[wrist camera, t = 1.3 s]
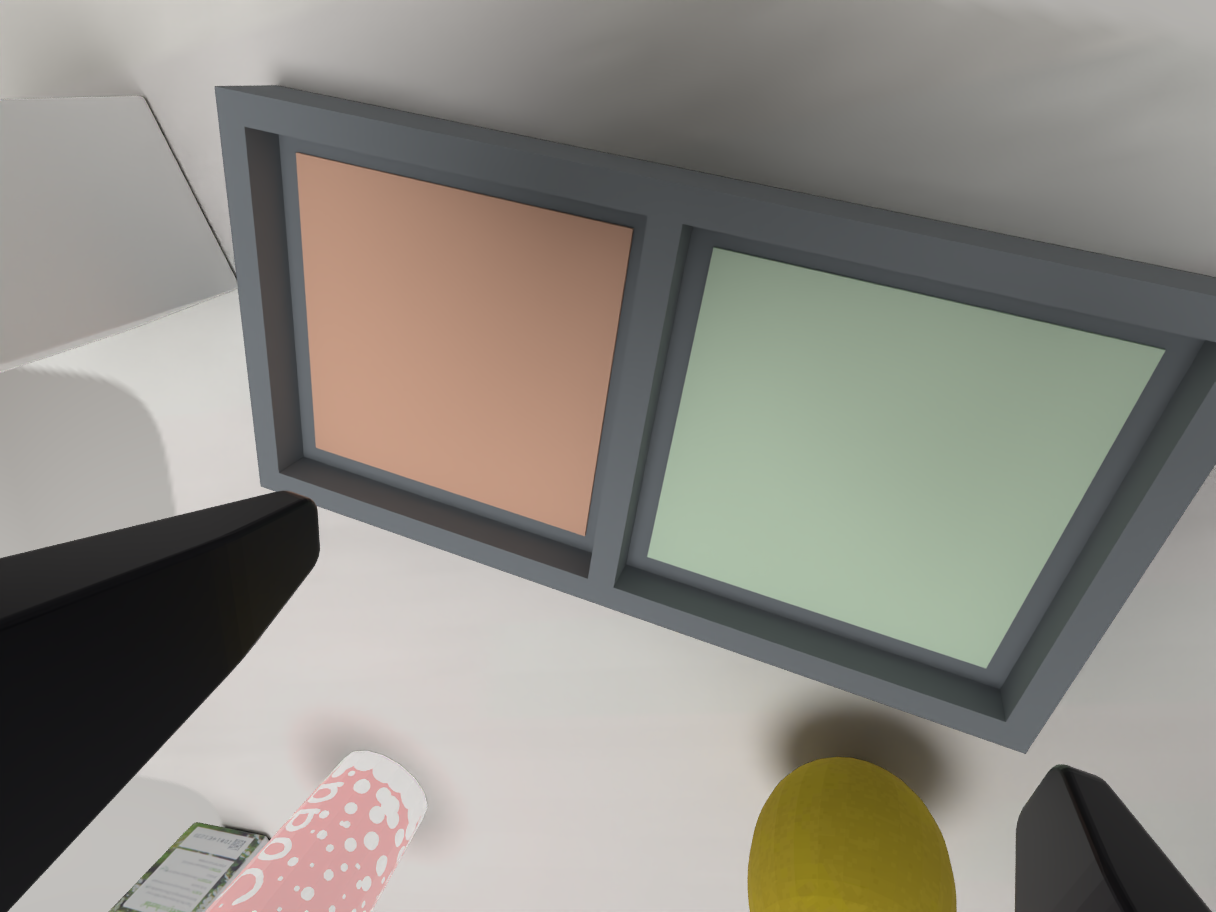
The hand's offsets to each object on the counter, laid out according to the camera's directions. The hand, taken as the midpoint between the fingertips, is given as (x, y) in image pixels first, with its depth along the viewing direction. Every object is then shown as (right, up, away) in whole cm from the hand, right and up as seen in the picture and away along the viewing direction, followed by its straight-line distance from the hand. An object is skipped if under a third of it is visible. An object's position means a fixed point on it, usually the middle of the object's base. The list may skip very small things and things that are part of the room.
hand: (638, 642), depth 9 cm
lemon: (+8, -8, +16) cm, 19 cm away
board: (+1, +4, +12) cm, 13 cm away
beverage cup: (-11, -13, +26) cm, 31 cm away
